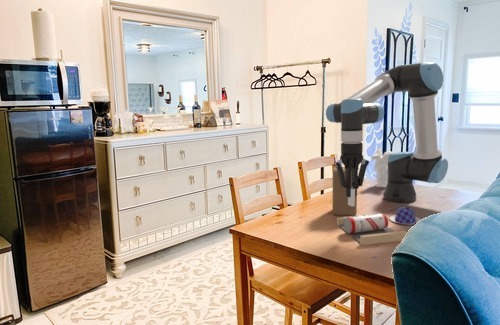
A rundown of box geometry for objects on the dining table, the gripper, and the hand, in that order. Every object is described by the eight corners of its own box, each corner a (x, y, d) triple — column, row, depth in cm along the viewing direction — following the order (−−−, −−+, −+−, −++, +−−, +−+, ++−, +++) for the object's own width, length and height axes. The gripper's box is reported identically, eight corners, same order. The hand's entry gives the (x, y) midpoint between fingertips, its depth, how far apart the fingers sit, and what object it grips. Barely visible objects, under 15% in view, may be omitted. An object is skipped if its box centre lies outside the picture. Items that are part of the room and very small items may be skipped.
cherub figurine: (395, 187, 205) (397, 148, 201) (376, 189, 202) (377, 150, 198) (382, 182, 217) (383, 145, 213) (363, 184, 213) (364, 147, 209)
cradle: (375, 220, 152) (375, 213, 152) (406, 240, 131) (407, 232, 130) (336, 224, 149) (336, 217, 149) (362, 245, 128) (362, 237, 128)
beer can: (342, 215, 141) (379, 211, 144) (342, 231, 141) (380, 227, 145) (349, 219, 135) (389, 214, 138) (350, 235, 135) (389, 230, 139)
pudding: (424, 227, 144) (424, 214, 143) (391, 225, 147) (391, 212, 146) (418, 217, 155) (419, 205, 155) (388, 216, 159) (388, 204, 158)
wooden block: (356, 216, 159) (357, 170, 155) (332, 215, 161) (332, 170, 157) (354, 209, 168) (355, 166, 165) (332, 209, 170) (332, 166, 167)
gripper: (363, 140, 138) (363, 201, 142) (330, 142, 136) (330, 204, 140) (373, 142, 130) (372, 206, 134) (338, 144, 128) (338, 209, 132)
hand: (351, 205), depth 137 cm, fingers closed
